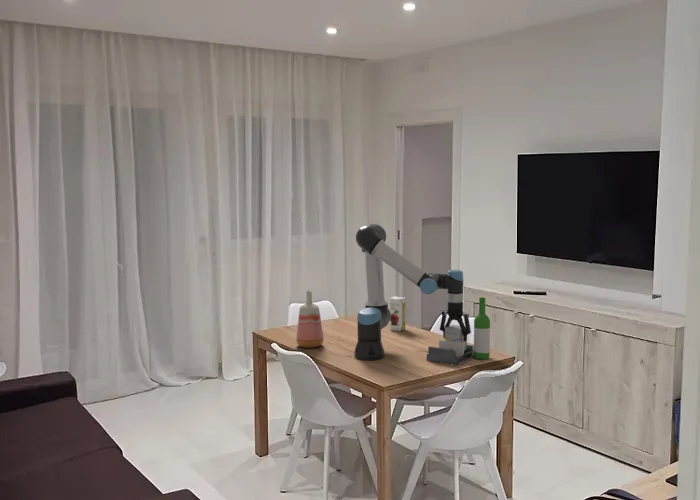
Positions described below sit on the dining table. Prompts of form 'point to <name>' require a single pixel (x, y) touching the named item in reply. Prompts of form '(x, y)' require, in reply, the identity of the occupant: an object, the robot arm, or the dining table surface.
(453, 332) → the ink box
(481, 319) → the wine bottle
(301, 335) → the vase
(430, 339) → the dining table surface
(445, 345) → the block
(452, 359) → the dark grey tray
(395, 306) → the juice carton
